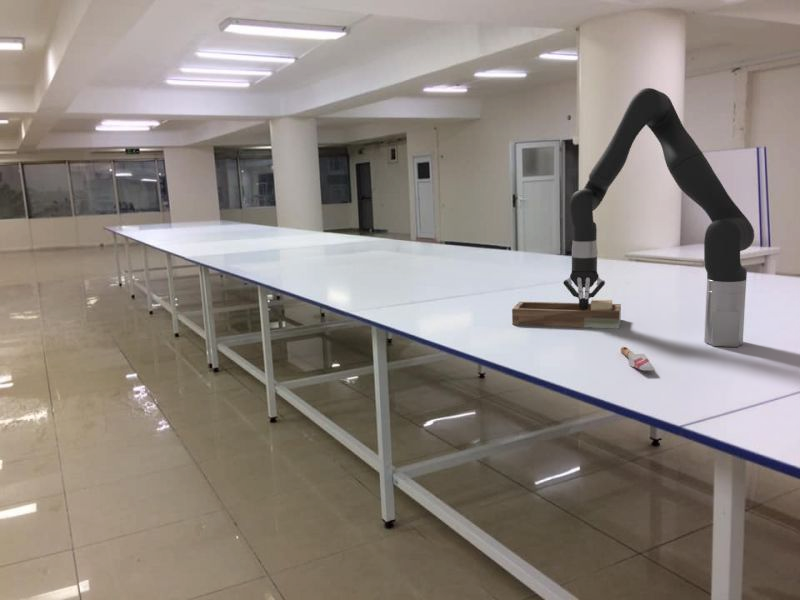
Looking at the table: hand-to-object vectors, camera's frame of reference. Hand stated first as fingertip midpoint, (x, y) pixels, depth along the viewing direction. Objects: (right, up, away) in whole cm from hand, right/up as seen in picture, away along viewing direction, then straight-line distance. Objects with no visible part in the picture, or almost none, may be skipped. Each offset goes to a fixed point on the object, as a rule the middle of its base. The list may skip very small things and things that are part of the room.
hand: (583, 310), depth 198 cm
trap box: (-5, -4, +3) cm, 7 cm away
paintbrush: (0, -13, -42) cm, 44 cm away
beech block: (+5, -1, -2) cm, 5 cm away
